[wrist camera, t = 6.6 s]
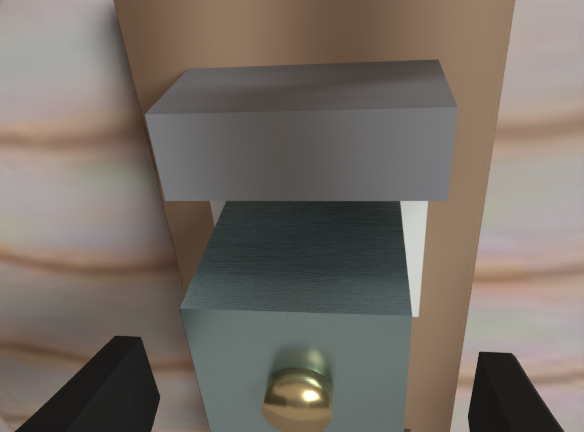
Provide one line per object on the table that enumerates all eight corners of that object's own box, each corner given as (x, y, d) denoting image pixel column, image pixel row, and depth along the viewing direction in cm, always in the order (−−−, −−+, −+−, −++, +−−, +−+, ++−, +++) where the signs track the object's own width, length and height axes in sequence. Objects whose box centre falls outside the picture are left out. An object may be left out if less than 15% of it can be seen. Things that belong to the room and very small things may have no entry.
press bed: (503, -35, 12) (565, 3, 8) (430, 505, 25) (441, 618, 21) (137, -13, 13) (46, 29, 9) (246, 491, 26) (226, 594, 22)
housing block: (398, 181, 13) (415, 340, 9) (392, 306, 16) (403, 483, 11) (234, 182, 14) (169, 331, 9) (252, 302, 16) (207, 469, 12)
